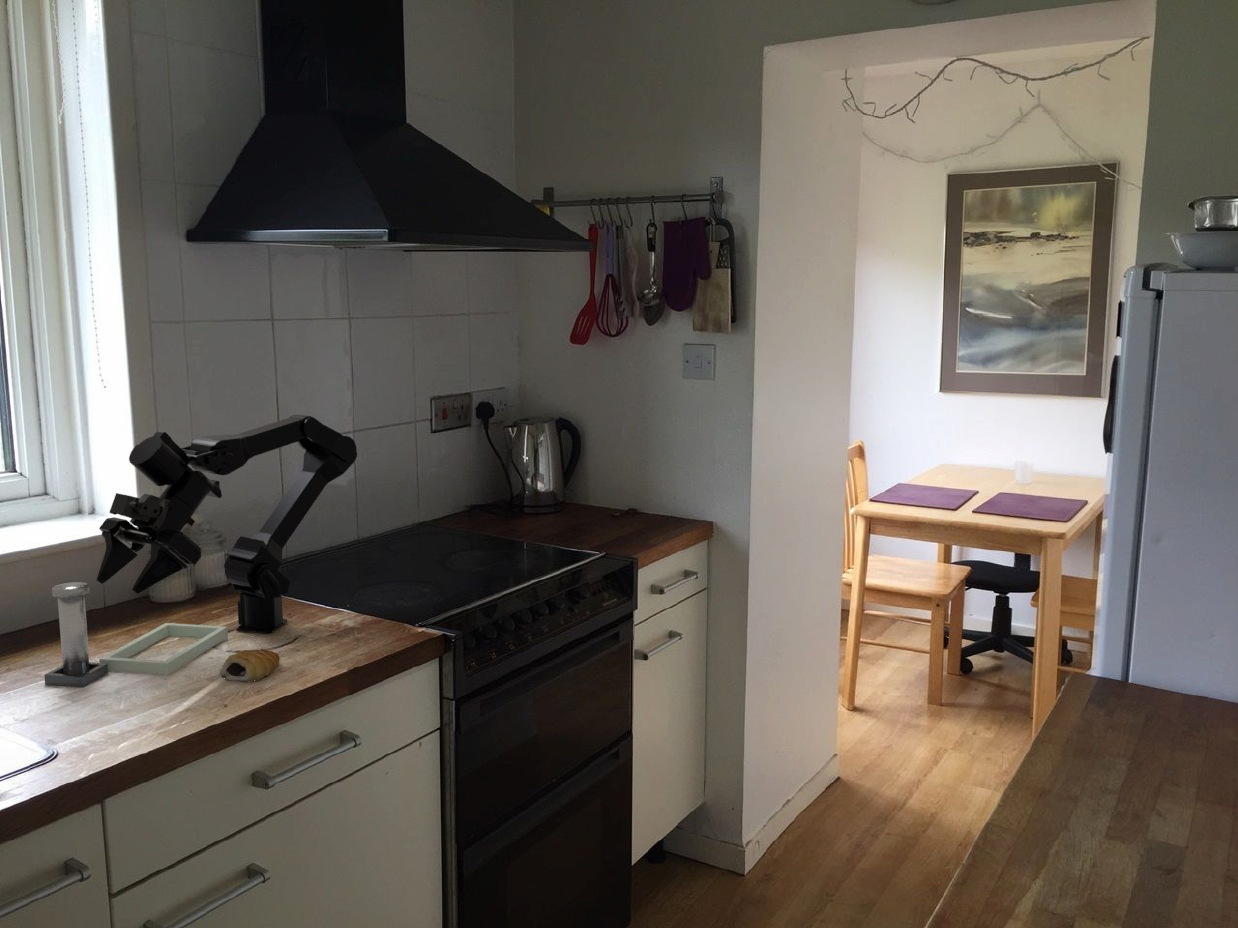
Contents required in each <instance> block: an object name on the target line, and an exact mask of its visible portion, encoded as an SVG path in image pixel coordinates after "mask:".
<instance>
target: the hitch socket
mask: <svg viewBox="0 0 1238 928" xmlns="http://www.w3.org/2000/svg"><path fill="white" fill-rule="evenodd" d="M89 665H90V671H88V672H86V673H84V674H83V675H68V674H63V664H62V665H60V666H59V667H56V668H54V669H53V670H50V671H48V672H47V673H45V674H44V685H45V686H53V687H55V686H56V687H67V688H68V687H69V688H70V687H71V688H81V689H82V688H85V687H87V686H88V685H91V683H94V682H95V681H97V680H99V679H101V678H102V677H104V676H106V675H108V674H109V671H108V663H100V662H94V661H93V662H92V661H89Z"/></svg>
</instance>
